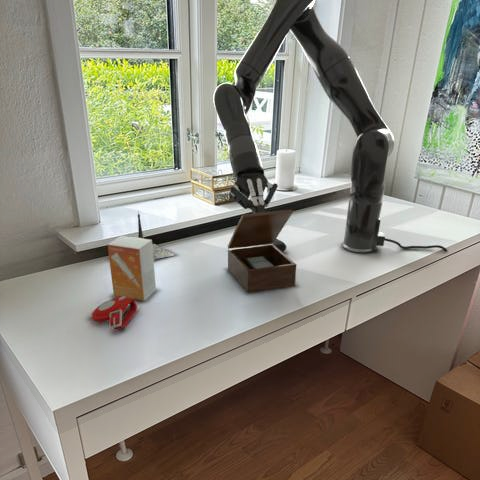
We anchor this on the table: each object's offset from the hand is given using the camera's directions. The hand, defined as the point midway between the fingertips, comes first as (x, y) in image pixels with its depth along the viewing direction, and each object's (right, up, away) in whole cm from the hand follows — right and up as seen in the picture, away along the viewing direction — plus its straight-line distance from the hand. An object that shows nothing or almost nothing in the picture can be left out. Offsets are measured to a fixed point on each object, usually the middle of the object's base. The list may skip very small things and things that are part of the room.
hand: (261, 221), depth 114 cm
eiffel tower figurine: (-33, -6, +18) cm, 38 cm away
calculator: (0, -12, +7) cm, 14 cm away
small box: (-30, -18, -2) cm, 35 cm away
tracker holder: (-32, -24, -13) cm, 42 cm away
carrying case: (0, -3, +25) cm, 25 cm away
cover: (-1, -2, +3) cm, 3 cm away
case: (0, -13, +7) cm, 15 cm away
